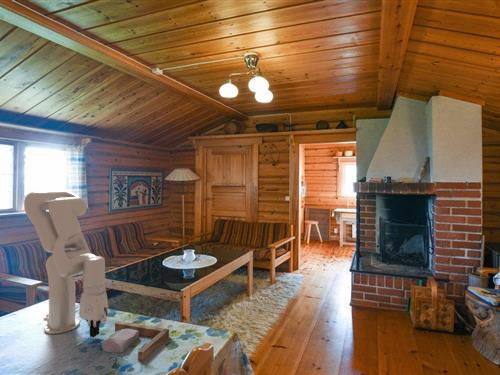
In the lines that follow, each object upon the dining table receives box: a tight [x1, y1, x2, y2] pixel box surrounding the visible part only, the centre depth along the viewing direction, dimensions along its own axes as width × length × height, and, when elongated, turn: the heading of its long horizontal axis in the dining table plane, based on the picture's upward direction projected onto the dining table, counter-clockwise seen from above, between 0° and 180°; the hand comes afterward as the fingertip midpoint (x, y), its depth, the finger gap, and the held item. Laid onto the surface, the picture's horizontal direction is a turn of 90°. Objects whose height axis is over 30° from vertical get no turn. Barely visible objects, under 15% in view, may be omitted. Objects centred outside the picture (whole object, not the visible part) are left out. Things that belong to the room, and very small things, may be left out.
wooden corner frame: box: [114, 320, 170, 362], centre depth 115 cm, size 24×17×3 cm
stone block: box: [101, 329, 140, 354], centre depth 115 cm, size 12×5×10 cm
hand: (94, 335), depth 118 cm, fingers closed
